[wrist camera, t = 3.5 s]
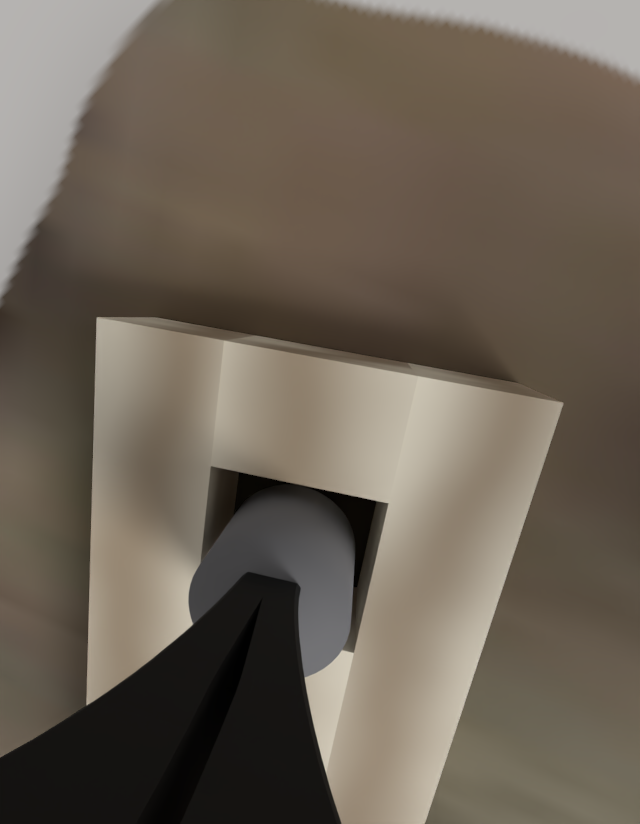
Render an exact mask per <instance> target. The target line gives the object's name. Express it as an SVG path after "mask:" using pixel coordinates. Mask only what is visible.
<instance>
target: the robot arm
mask: <svg viewBox="0 0 640 824" xmlns="http://www.w3.org/2000/svg"><path fill="white" fill-rule="evenodd" d="M300 591H301V588H300V586H299V585H298V583H295V582H291V581H286V580H282V579H277V578H273V577H269V576H264V575H260V574H256V573H251V572H247V573H245V574H244V575H242V576H241V578H240V579H239V580H238V581H237V582H236V583H235V584H234V585H233V586H232V587H231V588H230V589H229V590H228V592H227V593H226V594H225V595H224V596H223V597H222V598H221V599H220V600H218V601H217V602H216V603H215V604H214V605H213V606H212V607H211V608H210V609H209V610H208V611H207V612H206V613H205V614H204V615H203V616H202V617H200V618H199V619H198V620H197V621H196V622H195V623H194V624H193V625H192V626H191V627H190V628H188V629H187V630H186V631H185V632H184V633H183V634H182V635H180V636H179V637H178V638H177V639H176V640H174V641H173V642H172V643H171V644H169V645H168V646H167V647H166V648H165V649H163V650H162V651H161V652H160V653H159V654H157V655H156V656H155V657H154V658H152V659H151V660H150V661H149V662H147V663H146V664H145V665H143V666H142V667H141V668H139V669H138V670H137V671H136V672H134V673H133V674H131V675H130V676H129V677H127V678H126V679H125V680H123V681H122V682H120V683H119V684H118V685H116V686H115V687H113V688H112V689H111V690H109V691H108V692H106V693H105V694H103V695H102V696H100V697H99V698H98V699H96V700H94V701H93V702H91V703H90V704H88V705H87V706H85V707H84V708H82V709H81V710H79V711H78V712H76V713H74V714H73V715H71V716H70V717H68V718H67V719H65V720H64V721H62V722H61V723H59V724H57V725H56V726H54V727H52V728H51V729H49V730H48V731H46V732H44V733H43V734H41V735H39V736H38V737H36V738H34V739H33V740H31V741H29V742H27V743H26V744H24V745H22V746H20V747H18V748H17V749H15V750H13V751H11V752H9V753H8V754H6V755H4V756H2V757H1V758H0V824H342V823H341V820H340V817H339V814H338V811H337V808H336V805H335V802H334V799H333V796H332V793H331V789H330V786H329V782H328V778H327V775H326V771H325V768H324V764H323V760H322V757H321V753H320V749H319V745H318V741H317V737H316V733H315V729H314V724H313V720H312V715H311V710H310V705H309V700H308V695H307V689H306V684H305V678H304V671H303V664H302V656H301V647H300V637H299V619H298V606H299V596H300Z"/></svg>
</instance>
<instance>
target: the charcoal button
mask: <svg viewBox="0 0 640 824" xmlns="http://www.w3.org/2000/svg"><path fill="white" fill-rule="evenodd" d="M354 566H355V537H354V533H353V530H352V527H351V525H350V522H349V520H348V519H347V517H346V516H345V514H344V513H343V511H342V510H341V509H340V508H339V507H338V506H337V505H336V504H335V503H334V502H333V501H332V500H330V499H329V498H328V497H326V496H325V495H323V494H321V493H319V492H317V491H315V490H313V489H310V488H307V487H303V486H298V485H276V486H272V487H268V488H265V489H262V490H260V491H258V492H256V493H254V494H253V495H252V496H250V497H249V498H248V499H246V500H245V501H244V502H243V503H242V505H241V506H240V507H239V509H238V510H237V512H236V513H235V514H234V516H233V517H232V519H231V520H230V522H229V523H228V525H227V526H226V527H225V529H224V530H223V532H222V533H221V535H220V536H219V538H218V539H217V541H216V542H215V543H214V545H213V546H212V548H211V549H210V551H209V552H208V554H207V555H206V556H205V558H204V559H203V561H202V562H201V564H200V565H199V567H198V568H197V570H196V572H195V574H194V576H193V578H192V581H191V584H190V589H189V598H188V604H189V612H190V616H191V620H192V623H193V624H194V623H195V622H196V621H197V620H198V619H199V618H200V617H202V616H203V615H204V614H205V613H206V612H207V611H208V610H209V609H210V608H211V607H212V606H213V605H214V604H215V603H216V602H217V601H218V600H220V599H221V598H222V597H223V596H224V595H225V594H226V593H227V592H228V590H229V589H230V588H231V587H232V586H233V585H234V584H235V583H236V582H237V581H238V580H239V579H240V578H241V576H242V575H244V574H245V573H247V572H251V573H256V574H260V575H264V576H269V577H273V578H277V579H282V580H286V581H291V582H295V583H298V585H299V586H300V588H301V591H300V596H299V606H298V619H299V637H300V647H301V656H302V664H303V671H304V677H308V676H310V675H313V674H315V673H317V672H319V671H320V670H322V669H324V668H325V667H327V666H328V665H329V664H330V663H332V662H333V661H334V659H335V658H336V657H337V656H338V655H339V654H340V652H341V651H342V649H343V647H344V645H345V643H346V641H347V639H348V635H349V632H350V625H351V613H352V597H353V581H354Z"/></svg>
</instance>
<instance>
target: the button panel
mask: <svg viewBox="0 0 640 824" xmlns="http://www.w3.org/2000/svg"><path fill="white" fill-rule="evenodd" d="M562 406H563V402H561V401H558V400H556V399H554V398H551V397H549V396H547V395H545V394H542V393H540V392H538V391H536V390H533V389H531V388H529V387H526V386H524V385H522V384H520V383H515V382H510V381H504V380H499V379H493V378H488V377H482V376H477V375H471V374H466V373H460V372H455V371H449V370H444V369H438V368H433V367H427V366H422V365H416V364H411V363H405V362H400V361H394V360H389V359H383V358H378V357H372V356H367V355H361V354H355V353H350V352H344V351H339V350H333V349H328V348H322V347H317V346H311V345H306V344H300V343H295V342H289V341H284V340H278V339H273V338H267V337H262V336H256V335H251V334H245V333H240V332H234V331H229V330H223V329H218V328H212V327H207V326H201V325H195V324H190V323H184V322H179V321H173V320H168V319H162V318H157V317H97V324H96V362H95V400H94V437H93V475H92V512H91V550H90V588H89V625H88V663H87V701H86V706H87V705H88V704H90V703H91V702H93V701H94V700H96V699H98V698H99V697H100V696H102V695H103V694H105V693H106V692H108V691H109V690H111V689H112V688H113V687H115V686H116V685H118V684H119V683H120V682H122V681H123V680H125V679H126V678H127V677H129V676H130V675H131V674H133V673H134V672H136V671H137V670H138V669H139V668H141V667H142V666H143V665H145V664H146V663H147V662H149V661H150V660H151V659H152V658H154V657H155V656H156V655H157V654H159V653H160V652H161V651H162V650H163V649H165V648H166V647H167V646H168V645H169V644H171V643H172V642H173V641H174V640H176V639H177V638H178V637H179V636H180V635H182V634H183V633H184V632H185V631H186V630H187V629H188V628H190V627H191V626H192V625H193V623H192V620H191V616H190V612H189V604H188V598H189V589H190V584H191V581H192V578H193V576H194V574H195V572H196V570H197V568H198V567H199V565H200V564H201V562H202V561H203V559H204V558H205V556H206V555H207V554H208V552H209V551H210V549H211V548H212V546H213V545H214V543H215V542H216V541H217V539H218V538H219V536H220V535H221V533H222V532H223V530H224V529H225V527H226V526H227V525H228V523H229V522H230V520H231V519H232V517H233V516H234V509H235V501H236V493H237V485H238V477H239V472H241V473H246V474H251V475H256V476H260V477H265V478H270V479H275V480H280V481H284V482H289V483H294V484H299V485H303V486H308V487H313V488H318V489H322V490H327V491H332V492H337V493H342V494H346V495H351V496H356V497H361V498H365V499H370V500H375V501H376V505H375V510H374V514H373V519H372V523H371V528H370V532H369V537H368V541H367V546H366V550H365V555H364V559H363V563H362V568H361V572H360V577H359V581H358V586H357V587H353V597H352V613H351V625H350V632H349V635H348V639H347V641H346V643H345V645H344V647H343V649H342V651H341V652H340V654H339V655H338V656H337V657H336V658H335V659H334V661H333V662H332V663H330V664H329V665H328V666H327V667H325V668H324V669H322V670H320V671H319V672H317V673H315V674H313V675H310V676H308V677H304V678H305V684H306V689H307V695H308V700H309V705H310V710H311V715H312V720H313V724H314V729H315V733H316V737H317V741H318V745H319V749H320V753H321V757H322V760H323V764H324V768H325V771H326V775H327V778H328V782H329V786H330V789H331V793H332V796H333V799H334V802H335V805H336V808H337V811H338V814H339V817H340V820H341V823H342V824H425V821H426V818H427V815H428V812H429V809H430V806H431V803H432V800H433V797H434V794H435V791H436V788H437V785H438V782H439V779H440V776H441V773H442V770H443V767H444V764H445V761H446V758H447V755H448V752H449V749H450V746H451V743H452V740H453V736H454V733H455V730H456V727H457V724H458V721H459V718H460V715H461V712H462V709H463V706H464V703H465V700H466V697H467V694H468V691H469V688H470V685H471V682H472V679H473V676H474V673H475V670H476V667H477V664H478V661H479V658H480V655H481V652H482V649H483V646H484V643H485V640H486V637H487V634H488V631H489V627H490V624H491V621H492V618H493V615H494V612H495V609H496V606H497V603H498V600H499V597H500V594H501V591H502V588H503V585H504V582H505V579H506V576H507V573H508V570H509V567H510V564H511V561H512V558H513V555H514V552H515V549H516V546H517V543H518V540H519V537H520V534H521V531H522V528H523V525H524V522H525V518H526V515H527V512H528V509H529V506H530V503H531V500H532V497H533V494H534V491H535V488H536V485H537V482H538V479H539V476H540V473H541V470H542V467H543V464H544V461H545V458H546V455H547V452H548V449H549V446H550V443H551V440H552V437H553V434H554V431H555V428H556V425H557V422H558V419H559V416H560V412H561V409H562Z"/></svg>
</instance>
